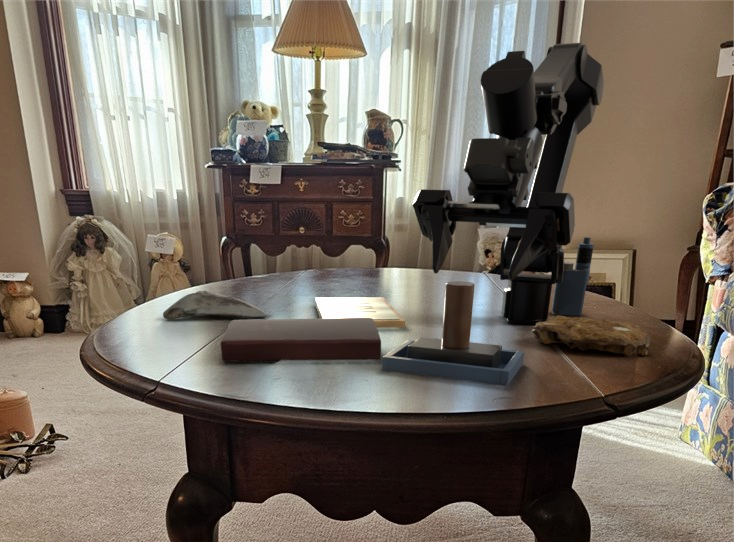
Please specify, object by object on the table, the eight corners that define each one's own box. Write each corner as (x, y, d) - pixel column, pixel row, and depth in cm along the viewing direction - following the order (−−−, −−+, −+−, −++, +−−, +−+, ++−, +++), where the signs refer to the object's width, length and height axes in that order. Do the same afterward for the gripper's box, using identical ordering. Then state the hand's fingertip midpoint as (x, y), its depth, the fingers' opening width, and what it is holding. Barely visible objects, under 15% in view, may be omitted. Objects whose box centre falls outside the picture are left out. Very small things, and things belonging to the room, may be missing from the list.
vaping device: (584, 316, 108) (597, 238, 103) (553, 315, 108) (564, 238, 103) (580, 313, 111) (592, 237, 105) (549, 312, 111) (560, 236, 105)
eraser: (406, 367, 77) (410, 283, 73) (419, 357, 81) (424, 277, 77) (490, 377, 74) (500, 289, 69) (500, 366, 78) (509, 283, 74)
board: (315, 306, 113) (315, 297, 113) (383, 305, 115) (383, 296, 114) (324, 331, 96) (324, 320, 95) (405, 330, 97) (405, 319, 97)
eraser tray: (381, 373, 76) (382, 356, 75) (408, 355, 84) (408, 339, 83) (506, 389, 71) (508, 371, 70) (522, 367, 79) (524, 351, 78)
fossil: (256, 302, 98) (161, 288, 99) (253, 333, 100) (160, 319, 101) (275, 299, 109) (189, 286, 110) (273, 327, 110) (188, 314, 111)
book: (381, 363, 80) (381, 336, 79) (221, 364, 79) (219, 337, 77) (372, 340, 91) (372, 316, 90) (232, 340, 90) (230, 316, 88)
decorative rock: (531, 358, 85) (651, 369, 82) (536, 327, 83) (660, 337, 80) (527, 334, 94) (635, 343, 92) (532, 305, 92) (643, 314, 90)
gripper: (423, 113, 77) (379, 219, 73) (587, 108, 69) (547, 227, 65) (442, 187, 86) (404, 284, 82) (588, 190, 79) (553, 298, 75)
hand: (471, 274), depth 76 cm, fingers open, 9 cm apart
